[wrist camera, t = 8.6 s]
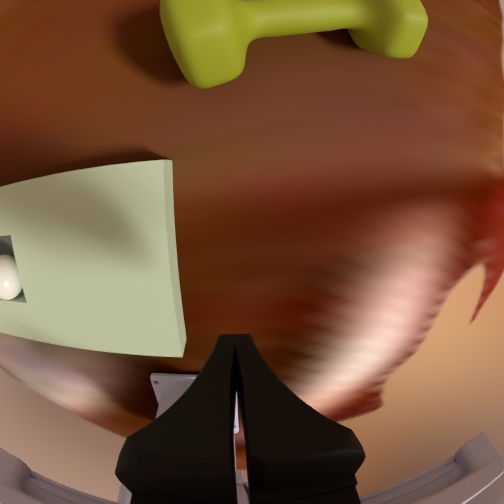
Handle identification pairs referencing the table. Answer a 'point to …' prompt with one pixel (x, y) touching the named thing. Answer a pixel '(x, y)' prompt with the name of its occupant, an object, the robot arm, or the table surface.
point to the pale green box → (95, 259)
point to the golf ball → (9, 278)
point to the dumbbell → (280, 29)
